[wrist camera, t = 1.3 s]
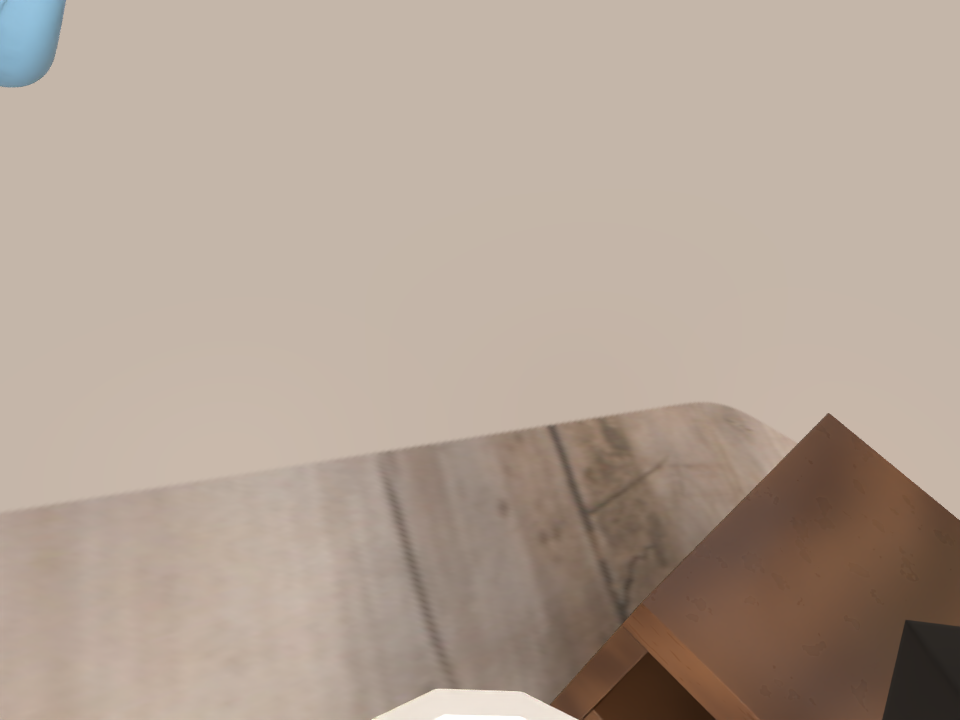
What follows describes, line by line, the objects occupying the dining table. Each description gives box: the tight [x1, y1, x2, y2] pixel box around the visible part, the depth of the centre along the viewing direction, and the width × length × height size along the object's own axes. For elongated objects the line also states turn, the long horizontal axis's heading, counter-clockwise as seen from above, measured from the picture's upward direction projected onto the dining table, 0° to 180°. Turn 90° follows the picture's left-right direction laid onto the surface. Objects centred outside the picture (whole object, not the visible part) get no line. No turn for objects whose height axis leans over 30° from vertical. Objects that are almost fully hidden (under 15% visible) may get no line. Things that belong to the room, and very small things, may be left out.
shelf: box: [550, 413, 960, 720], centre depth 35 cm, size 13×16×9 cm
